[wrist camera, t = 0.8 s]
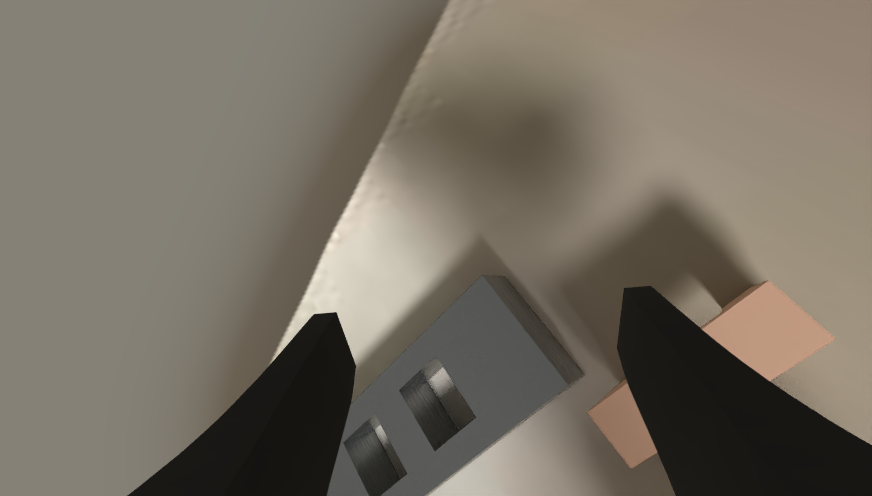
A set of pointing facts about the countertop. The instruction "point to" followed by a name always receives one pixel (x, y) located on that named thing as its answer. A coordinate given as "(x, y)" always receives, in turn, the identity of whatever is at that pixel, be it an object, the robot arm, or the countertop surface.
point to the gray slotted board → (476, 381)
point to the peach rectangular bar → (742, 336)
